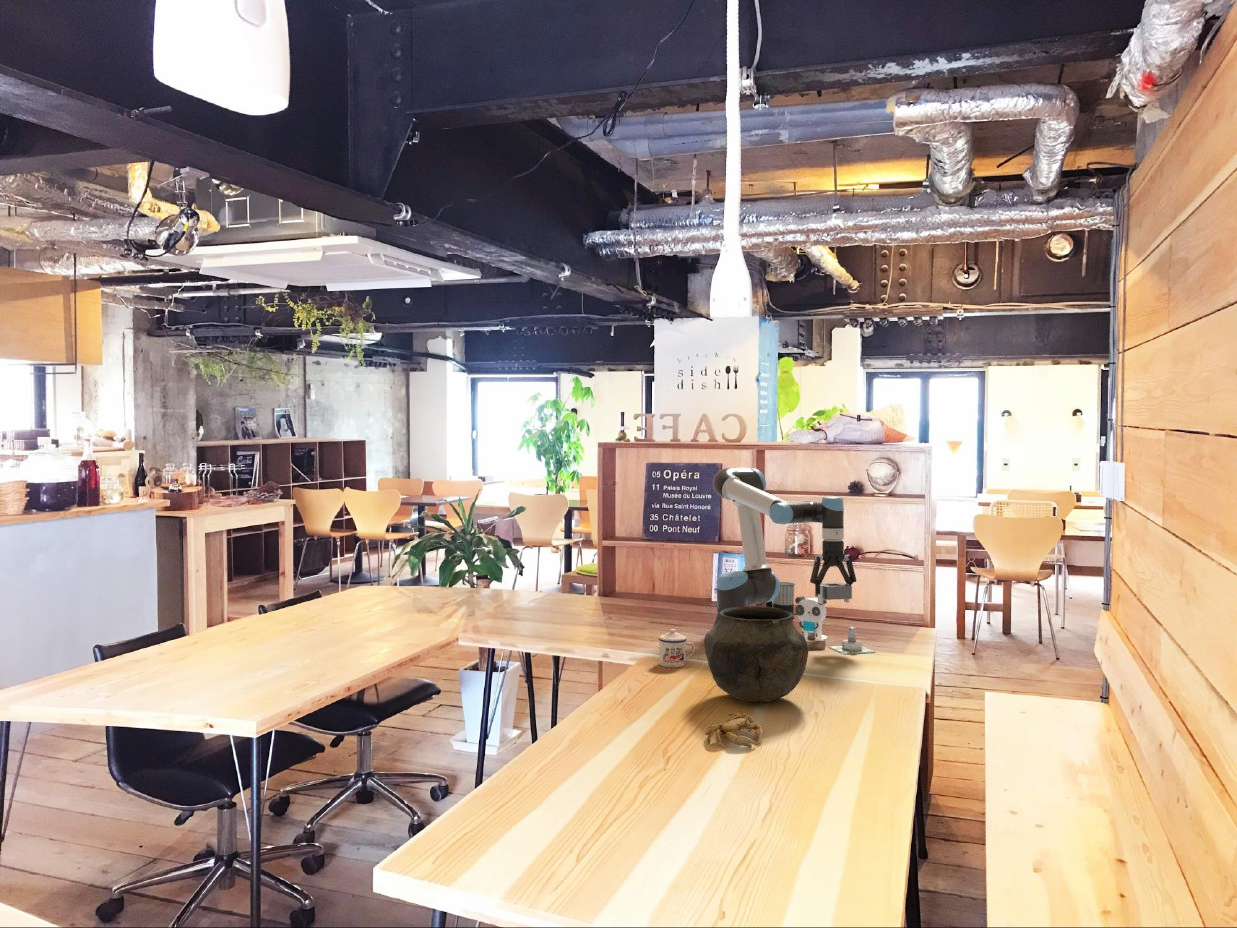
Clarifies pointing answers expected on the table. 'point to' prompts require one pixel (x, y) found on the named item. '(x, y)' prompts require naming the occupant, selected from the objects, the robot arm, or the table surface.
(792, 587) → the milk frother
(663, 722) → the table surface
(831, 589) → the grey square block
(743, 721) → the crab model
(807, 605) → the panda figurine
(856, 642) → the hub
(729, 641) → the pot
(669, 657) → the teacup with lid
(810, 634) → the stand
